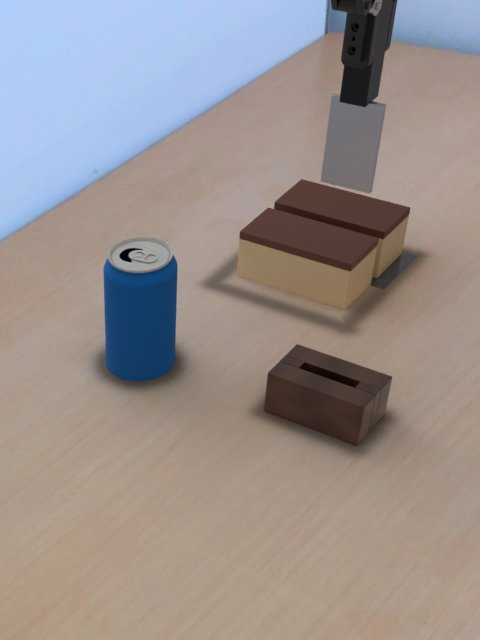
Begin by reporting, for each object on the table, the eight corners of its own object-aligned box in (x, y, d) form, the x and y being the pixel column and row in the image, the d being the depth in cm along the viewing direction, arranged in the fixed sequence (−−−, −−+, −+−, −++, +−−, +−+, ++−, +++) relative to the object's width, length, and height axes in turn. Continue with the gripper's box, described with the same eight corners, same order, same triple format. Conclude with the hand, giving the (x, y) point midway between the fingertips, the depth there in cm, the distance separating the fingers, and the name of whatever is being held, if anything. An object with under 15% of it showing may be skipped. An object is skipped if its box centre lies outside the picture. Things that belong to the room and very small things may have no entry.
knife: (377, 186, 89) (411, -16, 78) (364, 198, 88) (397, -5, 77) (327, 174, 91) (353, -25, 80) (314, 186, 90) (339, -14, 79)
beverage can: (125, 342, 107) (123, 228, 98) (185, 358, 105) (190, 242, 96) (94, 379, 104) (90, 264, 95) (156, 396, 102) (158, 279, 92)
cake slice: (370, 284, 108) (379, 237, 105) (344, 311, 106) (351, 264, 102) (263, 252, 114) (268, 206, 110) (236, 276, 112) (239, 231, 108)
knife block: (383, 423, 96) (393, 376, 92) (355, 455, 94) (364, 407, 90) (291, 390, 100) (296, 343, 96) (262, 419, 98) (267, 372, 94)
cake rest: (401, 253, 112) (411, 207, 108) (376, 278, 109) (385, 232, 105) (296, 223, 117) (301, 178, 113) (269, 247, 115) (274, 201, 111)
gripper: (414, -195, 64) (368, 105, 77) (509, -255, 71) (452, 32, 84) (298, -203, 68) (273, 85, 81) (399, -259, 74) (361, 16, 87)
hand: (365, 57), depth 82 cm, fingers closed on knife, 2 cm apart
